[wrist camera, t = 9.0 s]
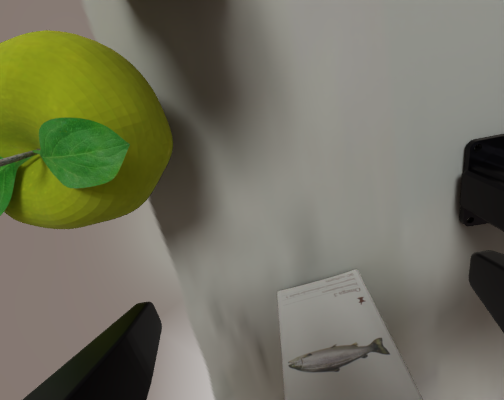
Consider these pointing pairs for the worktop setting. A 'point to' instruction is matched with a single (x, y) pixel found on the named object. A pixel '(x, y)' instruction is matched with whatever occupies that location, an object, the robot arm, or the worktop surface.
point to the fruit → (76, 132)
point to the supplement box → (339, 344)
